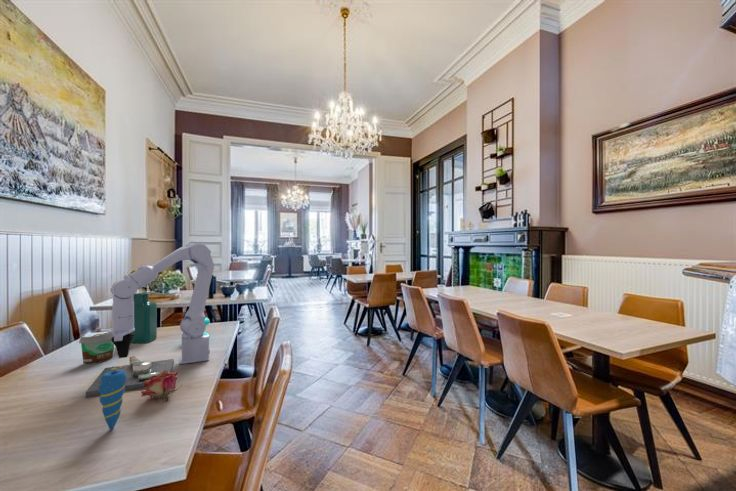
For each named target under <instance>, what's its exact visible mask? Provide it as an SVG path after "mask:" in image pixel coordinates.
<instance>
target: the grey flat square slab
mask: <svg viewBox="0 0 736 491" xmlns="http://www.w3.org/2000/svg"><path fill="white" fill-rule="evenodd" d="M151 362H152V364H151V372H150V373H149V374H143V375H139V376H134V375H133V366H131V365H130V364H124V365H117V366H116V365H115V366H113V367H112V366H109V367H104V369H103V370H102V371H101V373H100V374H99V375H98V376H97V378H95V380H94V381H93V382H92V383H91V385H90V386H89V387H88V388H87V390H85V393H84V394H85V395H84V396H85V398H89V397H94V396H95V397H96V396H101V394H100V393H99V390H98V388H99V386H100V385H101V377H102V375H103V374H105V373H107V372H110V371H111V369H112V368H116V370H122V371H124V372H125V373H126V376H127V379H126V382H125V384H124V385H125V391H124V392H127V391H132V390H140V389H147V388H146V387H145V386H144V385H143V383H144V381H146V380H150V378H151V377H152V376H154V375H158V374H160V373H162V372H163V371H164V370H167V371H168V373H171V372H173V371H172V370H173V367H174V364H175V363H174V362H175V359H174V358H172V359H171V358H170V359H163V360H156V361H151Z"/></svg>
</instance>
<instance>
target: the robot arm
mask: <svg viewBox="0 0 736 491" xmlns="http://www.w3.org/2000/svg"><path fill="white" fill-rule="evenodd" d="M211 253H212V251H211V249H209V247H208V246H206V245H205V244H204V243H201V242H197V243H195V242H189V243H187V244H185V245H183V246H181V247H179V248H177V249H176V250H174V251H172V252H170V253H169V254H168V255H166V256H165V257H163V258H162V259H160V260H159V261H157V262H155V263H154V264H152V265H146V264H145V265H140V266H138V267H137V269H136V270H135V271H133V272H132V273H130V274H129V275H124V276H122V279H119V280H117V281H115V282H114V283H112V285H111V288H110V292H111V293H112V303H111V304H112V307H111V308H112V314H111V316H112V329H113V330H111V329H109V330H108V331H107V332H108V333H112V334H113V335H114V337H112V338H111V340H112V342H113V343H114V347H115V350H116V353H117V355H118V359H123V358H127V357H128V355H129V352H130V348H131V344H132V343H131V341H132V339H133V337H134V335H135V333H131V332H133V331H135V328H134V294H137V293H136V292H137V290H141V289H142V288H143V287H145V286H147V285H149V284H150V283H151V282H153V281H155V280H156V279H157V278H158V274H159V273H161V272H162V271H164V270H166V269H168V268H169V267H171V266H173V265H174V264H176V263H178V262H180V261H191V262H192V263H193V264H194V265H195V267H196V268H197V269H198V270H197V274H196V278H195V282H194V286H193V290H192V295H191V299H190V303H189V308H188V310H186V312H185V314H184V317H183V319H182V320H181V321H180V324H179V329H180V330H181V332H182V334H181V356H180V360H179V365H184V364H185V365H186V364H191V363H198V362H199V363H200V362H206V361H209V360H210V359H209V358H210V352H211V349H210V337H209V336H210V334H209V335H203V333H204V332H206V326H205V317H206V315H205V308H206V303H207V299H208V294H209V291H210V286H211V283H212V277H213V274H214V270H215V264H214V261H213V258H212V255H211Z"/></svg>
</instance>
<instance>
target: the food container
mask: <svg viewBox="0 0 736 491" xmlns="http://www.w3.org/2000/svg"><path fill="white" fill-rule="evenodd" d="M110 330H113V328H110ZM112 337H114V335H113V334H112V333H108V331H107V332H103V333H98V334H94V335H92V336H81V337H80V338H79V342H78V343H79V344H80V345H81V354H82V364H83V365H89V364H90V365H91V364H92V365H93V364H98V363H103V362H104V363H105V362H106V361H109V360H111V359H113V357H114V349H115V345H114V343H113V342H112V340H111V338H112Z"/></svg>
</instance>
